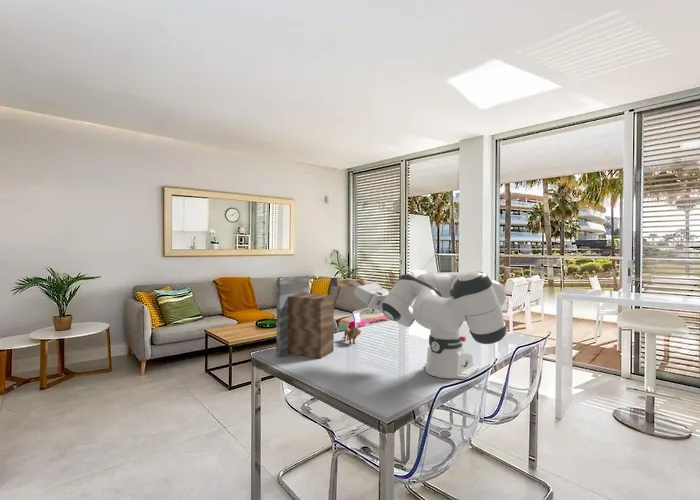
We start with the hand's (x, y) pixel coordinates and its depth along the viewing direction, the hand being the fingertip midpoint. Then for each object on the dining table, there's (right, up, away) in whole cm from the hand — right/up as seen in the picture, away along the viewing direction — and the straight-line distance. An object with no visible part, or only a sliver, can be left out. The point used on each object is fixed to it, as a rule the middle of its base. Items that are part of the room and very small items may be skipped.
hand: (355, 281), depth 161 cm
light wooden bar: (-3, -2, +1) cm, 4 cm away
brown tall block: (-21, -33, +10) cm, 41 cm away
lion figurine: (-2, -33, +28) cm, 43 cm away
